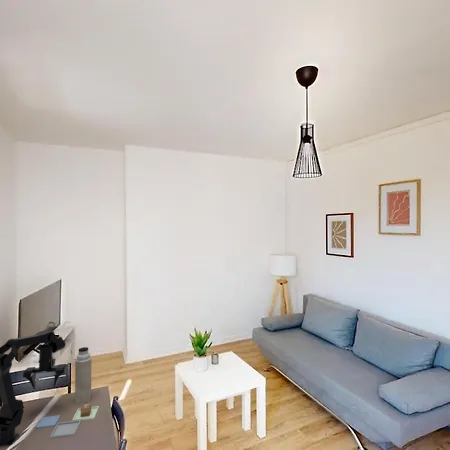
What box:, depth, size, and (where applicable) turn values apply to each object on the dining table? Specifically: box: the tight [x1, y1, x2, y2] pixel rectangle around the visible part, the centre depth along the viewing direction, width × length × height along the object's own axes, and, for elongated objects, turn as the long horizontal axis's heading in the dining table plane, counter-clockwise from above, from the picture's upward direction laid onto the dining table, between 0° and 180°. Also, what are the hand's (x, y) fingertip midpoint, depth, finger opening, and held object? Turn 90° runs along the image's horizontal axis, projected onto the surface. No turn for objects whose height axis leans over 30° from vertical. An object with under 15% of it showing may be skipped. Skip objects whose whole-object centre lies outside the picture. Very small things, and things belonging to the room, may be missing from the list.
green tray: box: [71, 405, 100, 421], centre depth 150 cm, size 10×10×1 cm
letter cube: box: [80, 403, 92, 417], centre depth 150 cm, size 4×4×4 cm
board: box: [35, 414, 61, 429], centre depth 144 cm, size 8×8×1 cm
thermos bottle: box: [74, 346, 92, 405], centre depth 165 cm, size 8×8×28 cm
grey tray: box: [49, 420, 81, 440], centre depth 138 cm, size 10×10×1 cm
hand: (45, 387), depth 152 cm, fingers open, 9 cm apart
